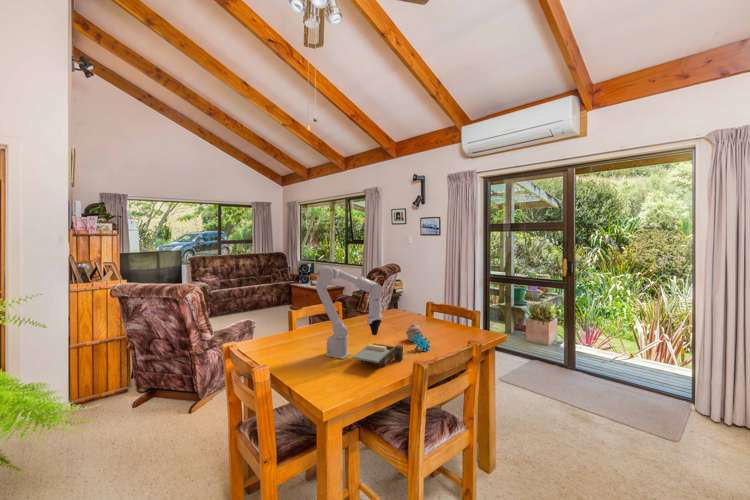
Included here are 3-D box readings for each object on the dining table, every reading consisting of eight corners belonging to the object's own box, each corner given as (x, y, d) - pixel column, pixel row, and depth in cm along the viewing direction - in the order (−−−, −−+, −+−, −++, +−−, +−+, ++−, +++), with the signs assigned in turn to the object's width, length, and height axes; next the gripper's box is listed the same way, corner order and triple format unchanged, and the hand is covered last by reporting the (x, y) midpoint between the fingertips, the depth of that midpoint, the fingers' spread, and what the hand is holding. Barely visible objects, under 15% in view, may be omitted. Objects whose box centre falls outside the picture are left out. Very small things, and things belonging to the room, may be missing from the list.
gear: (418, 351, 174) (411, 333, 180) (412, 356, 178) (405, 338, 184) (435, 350, 180) (428, 333, 186) (428, 355, 183) (421, 338, 189)
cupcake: (420, 344, 189) (421, 326, 189) (403, 342, 192) (404, 324, 192) (423, 339, 198) (424, 321, 198) (407, 337, 201) (408, 320, 201)
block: (400, 361, 164) (400, 347, 164) (394, 360, 165) (394, 347, 165) (402, 359, 167) (403, 346, 166) (396, 358, 168) (397, 345, 168)
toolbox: (360, 362, 162) (360, 352, 162) (373, 352, 176) (373, 343, 176) (384, 366, 158) (385, 356, 157) (396, 355, 171) (396, 346, 171)
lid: (352, 358, 154) (352, 353, 154) (366, 347, 168) (366, 343, 168) (377, 362, 149) (377, 357, 149) (390, 351, 163) (390, 346, 163)
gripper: (376, 311, 165) (376, 339, 165) (387, 305, 178) (387, 331, 179) (363, 309, 167) (362, 337, 168) (375, 304, 181) (374, 330, 181)
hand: (374, 334), depth 174 cm, fingers closed
